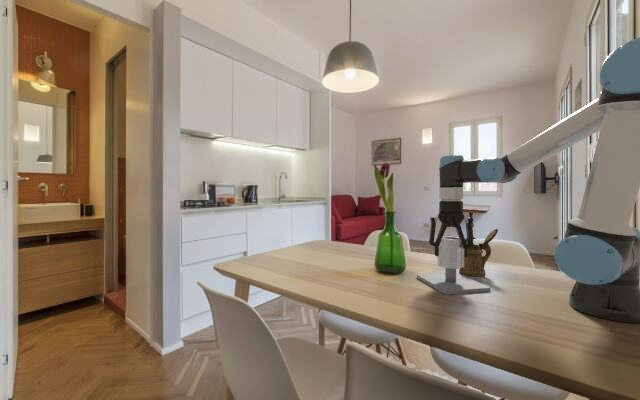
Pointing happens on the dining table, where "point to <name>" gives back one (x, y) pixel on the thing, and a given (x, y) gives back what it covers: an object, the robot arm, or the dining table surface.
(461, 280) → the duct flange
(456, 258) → the sleeve
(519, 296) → the dining table surface
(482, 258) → the wooden mug
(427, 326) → the dining table surface
